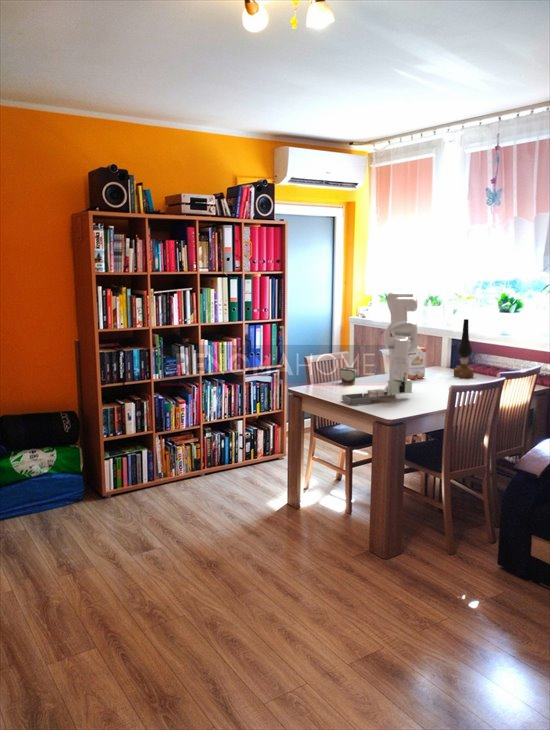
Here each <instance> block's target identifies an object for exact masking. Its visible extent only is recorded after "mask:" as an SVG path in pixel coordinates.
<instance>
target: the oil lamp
mask: <svg viewBox="0 0 550 730" xmlns="http://www.w3.org/2000/svg"><path fill="white" fill-rule="evenodd" d="M469 337H470V336H469V319H465V318H464V319H463V325H462V335H461V339H460V342H459V344H458V348H457V350H456V351H457V353H458V355H459V357H460V358H459V360H460V365H455V368H453V375H454V376H455V377H454V376H453V377H454V378H456V377H459V378H458V379H473V378H474V377H475V376H474V374H475V369H474V368H472V367H470V366H468V362H469V360H470V359H469V356H471V355H472V352H473V350H472V346H471V345H472V344H471V343H470V338H469ZM473 376H474V377H473ZM472 377H473V378H472Z"/></svg>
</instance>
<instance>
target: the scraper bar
mask: <svg viewBox="0 0 550 730" xmlns="http://www.w3.org/2000/svg"><path fill="white" fill-rule="evenodd" d="M407 381H408V382H407V383H406V385H405V392H402V393H400V392H399V391H400V381H398V380H395V381H389V380H387V383H388V384H387V385H388V389H387V392H388V394H389V395H400V394H410V393H412V392H413V391H412V389H413V380H412V379H410V380H407ZM402 382H403V381H402Z"/></svg>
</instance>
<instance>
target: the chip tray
mask: <svg viewBox="0 0 550 730" xmlns="http://www.w3.org/2000/svg"><path fill="white" fill-rule="evenodd" d="M342 400H343V401H344V403H345V402H346V403H345V404H347V403H348V404H347V405H349V404H350V405H349V406H351V405H353V406H359V405H358V404H364V405H371V404H370V403H372V397H371V398H365V397H363V393H362V392H361V393H350V394H342V395H341V401H342ZM343 401H342V402H343ZM372 404H373V403H372Z"/></svg>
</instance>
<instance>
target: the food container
mask: <svg viewBox="0 0 550 730" xmlns="http://www.w3.org/2000/svg"><path fill="white" fill-rule="evenodd" d="M339 371H340V375H341V384H346V385H351V386H353V385H355V383H356V375H357V374H356V373H357V372H358V371H357V368H356V367H349V366H348V367H347V366H346V367H345V366H343V367H340V370H339Z"/></svg>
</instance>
